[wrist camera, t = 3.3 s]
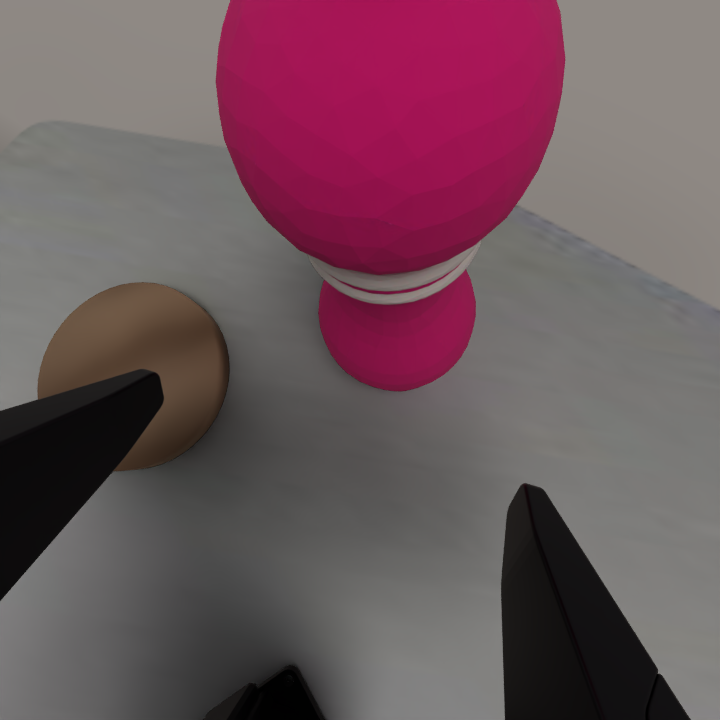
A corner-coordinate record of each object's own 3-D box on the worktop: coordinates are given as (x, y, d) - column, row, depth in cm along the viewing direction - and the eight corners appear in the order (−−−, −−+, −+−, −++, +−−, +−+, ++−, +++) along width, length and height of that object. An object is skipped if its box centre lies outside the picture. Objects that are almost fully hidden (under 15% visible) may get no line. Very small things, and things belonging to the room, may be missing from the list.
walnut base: (262, 399, 23) (252, 396, 21) (102, 507, 22) (81, 512, 21) (178, 260, 25) (165, 248, 24) (34, 355, 25) (11, 349, 24)
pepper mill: (486, 325, 22) (1042, -486, 3) (410, 426, 22) (481, 248, 2) (385, 258, 24) (306, -560, 4) (311, 351, 23) (-172, -149, 4)
